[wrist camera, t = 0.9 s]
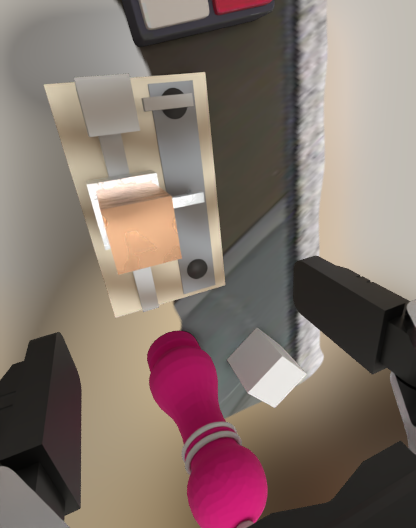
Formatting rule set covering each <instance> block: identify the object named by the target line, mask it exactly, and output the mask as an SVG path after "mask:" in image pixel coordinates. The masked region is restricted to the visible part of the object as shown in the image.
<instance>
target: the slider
mask: <svg viewBox="0 0 416 528" xmlns="http://www.w3.org/2000/svg"><path fill="white" fill-rule="evenodd" d="M86 183H87V188H88V191H89V195H90V198H91V202H92V205H93V209H94V212H95V215H96V219H97V222H98V226H99V229H100V233H101V236H102V240H103V243H104V246H105V250H108V249H111V251H112V255H113V258H114V262H115V265H116V269H117V272H118V275H120V274H124V273H128V272H132V271H136V270H139V269H143V268H147V267H151V266H155V265H159V264H163V263H166V262H170V261H174V260H178V259H182V256H181V250H180V244H179V238H178V231H177V225H176V219H175V213H174V208H178V207H183V206H188V205H193V204H198V203H202V202H205V201H204V192H202V191H199V192H195V191H193V190H191V189H188V190H187V191H186V194H183V195H178V196H173V197H172V196H171V195H170V194H168V193H167V192H166V191H164V190H163V189H162V188H160V187H159V184H158V178H157V173H156V172H154V171H152V170H148V171H142V172H136V173H130V174H124V175H118V176H112V177H106V178H100V179H94V180H88V181H86Z"/></svg>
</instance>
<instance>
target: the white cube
mask: <svg viewBox="0 0 416 528" xmlns="http://www.w3.org/2000/svg"><path fill="white" fill-rule="evenodd" d="M227 361H228V362H229V364H230V366H231V367H232V369H233V370H234V372H235V373H236V375H237V377H238V378H239V380H240V381H241V383H242V385H243V386H244V388H245V389H246V391H247V393H249V394H250V395H252V396H254V397H256V398H258V399H260V400H261V401H263V402H265V403H267V404H269V405H271V406H272V407H274V408H275V407H276V406H277V405H278V404H279V403H280V402H281V401H282V400H283V399H284V398H285V396H287V394H288V393H289V392H290V391H291V390H292V389H293V388H294V387H295V386H296V385H297V384H298V383H299V382H300V381H301V380H302V379H303V378H304V377H305V376H306V373H305V371H304V370H303V369H302V368H301V367H300V366H299V365H298V364H297V363H296V362H295V361H294V359H293V358H292V357H291V356H290V355H289V354H288V353H287V352H286V351H285V350H284V349H283V348H282V346H281V345H279V344H278V343H277V342H276V341H274V340H273V339H272V338H270V337H269V336H268V335H266V334H265V333H264V332H263V331H261V330H260V329H259V328H256V329H255V330H254V331H253V332H252V333H251V334H250V335H249V336H248V337H247V338H246V340H245V341H244V342H243V343H242V344H241V345H240V346H239V347H238V348H237V349H236V350H235V351H234V353H233V354H232V355H231V356H230V357H229V358H228V359H227Z"/></svg>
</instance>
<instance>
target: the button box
mask: <svg viewBox="0 0 416 528" xmlns="http://www.w3.org/2000/svg"><path fill="white" fill-rule="evenodd" d="M122 3H123V7H124V10H125V13H126V17H127V20H128V23H129V27H130V30H131V31H130V32H131V33H132V34H131V35H132V38H133V41H134V44H136V45H137V46H139V47H144V46H148V45H152V44H157V43H161V42H165V41H169V40H174V39H178V38H182V37H186V36H191V35H195V34H199V33H203V32H208V31H212V30H216V29H220V28H225V27H229V26H233V25H237V24H242V23H246V22H250V21H254V20H256V19H258V18H260V17H262V16H264V15H266V14H268V13H270V12H271V11H272V10H273V9H274V0H122Z"/></svg>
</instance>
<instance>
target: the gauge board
mask: <svg viewBox="0 0 416 528" xmlns="http://www.w3.org/2000/svg"><path fill="white" fill-rule="evenodd" d="M74 81H75V82H70V83H57V84H44V88H45V91H46V94H47V97H48V101H49V104H50V107H51V110H52V114H53V117H54V120H55V123H56V127H57V130H58V133H59V136H60V139H61V143H62V146H63V149H64V153H65V156H66V159H67V162H68V165H69V169H70V172H71V175H72V178H73V181H74V185H75V188H76V191H77V195H78V198H79V201H80V204H81V207H82V211H83V214H84V217H85V220H86V224H87V227H88V230H89V233H90V237H91V240H92V243H93V246H94V250H95V253H96V256H97V259H98V262H99V266H100V269H101V272H102V276H103V279H104V282H105V285H106V288H107V292H108V295H109V298H110V301H111V305H112V308H113V311H114V315H115V318H116V317H120V316H123V315H127V314H130V313H134V312H136V311H140V310H143V312H145V311H148V310H151V309H155V308H158V307H159V305H160V304H164V303H167V302H170V301H174V300H177V299H180V298H184V297H187V296H190V295H194V294H197V293H200V292H204V291H207V290H210V289H214V288H217V287H220V286H224V285H225V276H224V266H223V255H222V245H221V234H220V224H219V213H218V203H217V192H216V182H215V171H214V161H213V150H212V139H211V129H210V118H209V108H208V97H207V87H206V76H205V72H201V73H188V74H175V75H162V76H149V77H136V78H130V75H129V74H115V75H102V76H87V77H75V78H74ZM148 170H152V171H154V172H156V173H157V178H158V184H159V187H160V188H162V189H163V190H164V191H166V192H167V193H168V194H170V195H171V196H172V197H173V196H178V195H183V194H186V191H187V190H188V189H191V190H193V191H195V192H199V191H202V192H204V201H205V202H202V203H198V204H193V205H188V206H183V207H178V208H174V213H175V219H176V225H177V231H178V238H179V244H180V250H181V256H182V259H178V260H174V261H170V262H166V263H163V264H159V265H155V266H151V267H147V268H143V269H139V270H136V271H132V272H128V273H124V274H120V275H118V272H117V269H116V265H115V262H114V258H113V255H112V251H111V249H108V250H105V246H104V243H103V240H102V236H101V233H100V229H99V226H98V222H97V219H96V215H95V212H94V209H93V205H92V202H91V198H90V195H89V191H88V188H87V183H86V181H88V180H94V179H100V178H106V177H112V176H118V175H124V174H130V173H136V172H142V171H148Z"/></svg>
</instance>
